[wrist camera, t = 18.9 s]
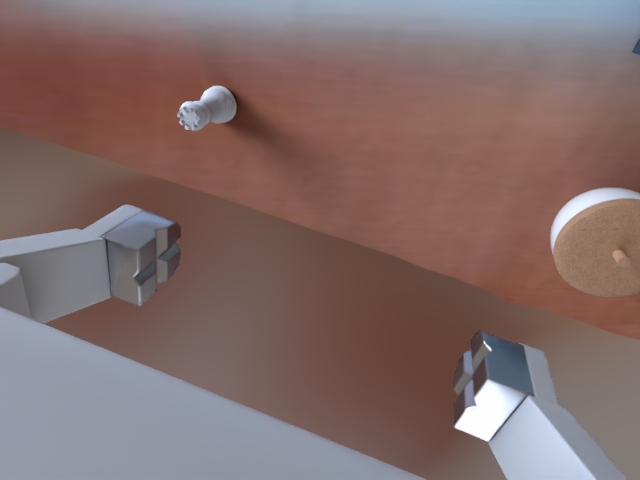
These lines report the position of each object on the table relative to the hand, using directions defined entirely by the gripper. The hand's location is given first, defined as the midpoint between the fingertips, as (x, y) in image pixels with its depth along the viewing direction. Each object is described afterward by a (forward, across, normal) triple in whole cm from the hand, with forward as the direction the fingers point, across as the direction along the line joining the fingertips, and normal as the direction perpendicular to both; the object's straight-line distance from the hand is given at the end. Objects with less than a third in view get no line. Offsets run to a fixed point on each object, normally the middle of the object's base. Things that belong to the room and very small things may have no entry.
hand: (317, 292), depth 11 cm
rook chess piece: (+39, +22, +9) cm, 46 cm away
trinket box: (+39, -24, +9) cm, 47 cm away
